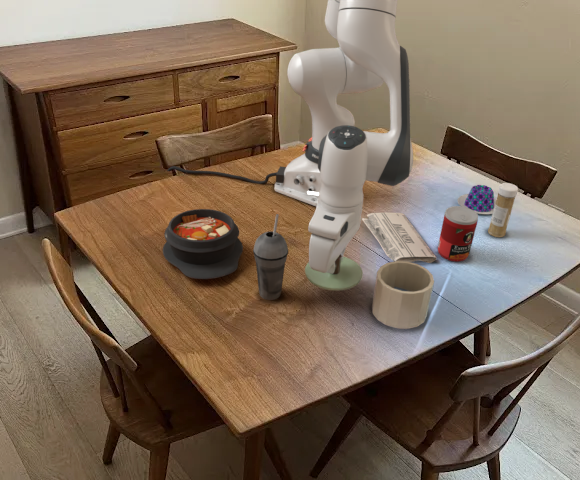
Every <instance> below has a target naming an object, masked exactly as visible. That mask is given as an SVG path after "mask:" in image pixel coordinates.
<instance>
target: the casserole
mask: <svg viewBox="0 0 580 480" xmlns="http://www.w3.org/2000/svg"><path fill="white" fill-rule="evenodd" d="M239 236H240V228H239V227H238V225H237V224H236V223H235V221H234V219H233V217H231V216H230V215H229V214H227V213H225V212H223V211H220V210H216V209H212V208H211V209H209V208H198V209H197V208H196V209H190V210H185V211H183V212H181V213H178V214H176V215H175V216H174V217H172V218H171V219H170V221H169V222H168V225H167V227H166V229H165V230H164V239H165V241H166V242H165V243H164V244H163V246H162V255H163V258H164V259H165V260H166V261H167V262H168V263H170V264H171V265H173V266H175V267H176V268H177V269H178V270H179V271H180V272H181V273H182V274H183V275H184V276H185V277H188V278H191V279H196V280H210V279H216V278H217V279H218V278H221V277H225V276H228V275H230V274H233V273H234V272H235V271H236V270H237V269H238V267H239V260H240V258H241V256H242V254H243V252H244V246H243V242H242V240H241V239H240V238H239Z"/></svg>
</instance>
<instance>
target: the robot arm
mask: <svg viewBox="0 0 580 480" xmlns="http://www.w3.org/2000/svg"><path fill="white" fill-rule="evenodd" d="M397 10H398V0H327V5H326V11H325V14H324V15H325V16H324V25H325V29H326V30H327V31H326V32H328V34H329V35H330V36H331V37H332V38H333V39H335V40H336V41H337V43H338V46H339V47H338V46H337V47H325V48H312V49H307V50H304V51H300V52H297V53H295V54H293V56H292V57H291V59H290V60H289V63H288V65H287V71H286V74H287V80H288V84H289V86H290V87H291V89H292V90H293V91H294V93H296V94H297V95H298V96H299V97H300V98H302V99H303V100H304V101H305V103H306V104H307V106H308V108H309V112H310V114H311V137H310V138H309V139H308V141H307V142H306V143H305V145H304V146H303V147H302V152H304V153H303V154H301V155H299V156H297V157H296V158H294V159H292V160H291V161H290V162H289V163H288V164H287V165H286V166H280V165H279V168H278V169H277V171H275V172H272V173H268V174H267V175H266V176H265V179H264V180H260V181H258V180H254V179H251V178H248V177H245V176H241V175H237V174H236V175H235V174H232V173H231V174H230V173H226V172H221V171H213V170H194V169H193V170H192V169H185V168H181V167H179V166H174V165H173V166H170V167H169V168H167V170H166V171H167V172H172V171H174V170H175V171H178V172H181V173H184V174H191V175H212V176H213V175H214V176H220V177H225V178H230V179H234V180H241V181H244V182H248V183H250V184H251V183H252V184H258V185H265V184H267V183H268V182H269V179H270V178H271V177H275V183H274V187H273V189H274V191H275V192H276V193H278V194H282V195H283V196H287V197H288V198H289V197H290V198H292V199H295V200H298V201H300V202H303V203H305V204H309V205H311V206H313V207H315V210H314V213H313V215H312V217H311V219H310V220H309V223H308V227H307V229H308V233H310V237H309V243H308V244H309V245H308V262H309V265H310V267H311V269H313V270H316V271H319V272H323V273H326V272H327V273H331V274H333V273H334V272H335V270H336V264H335V261H336V259H337V258H338V257H339V255H340V254H341V262H342V261H343V257H344V256H345V252H346V249H347V246H348V245H349V243H351V241H352V239H353V238H354V237H355V235H356V234H357V233H358V231H359V230H360V227H361V224H362V213H363V205H364V191H363V190H364V189H363V188H364V185H365V183H366V181H367V182H374V183H377V184H381V185H386V186H390V187H395V186H397V185H399V184H401V183H403V182H404V181H406V180H407V179H408V178H409V177H410V174H411V173H412V170H413V166H414V151H413V150H414V148H413V144H412V143H413V142H412V138H411V88H410V87H411V84H410V83H411V81H410V68H409V67H410V64H409V57H408V52H407V50H406V48H405V47H403V46H402V45H400V42H399V41H398V37H397V33H396V18H397V12H398V11H397ZM384 83H385V84H386V86H387V88H388V93H389V122H390V123H389V124H390V127H389V128H390V129H389V131H387V132H375V131H367V130H362V129H361V128H359V127H357V126H356V120H355V117H354V115H353V113H352V112H351V111H350V110H349V109H347V108H346V107H344V106H342V105H340V104H337V100H338V99H337V98H338V96H339V95H340V96H341V95H350V94H363V93H366V92H371V91H373V90H377V89H379V88H381V87H382V86H383V84H384Z"/></svg>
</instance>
